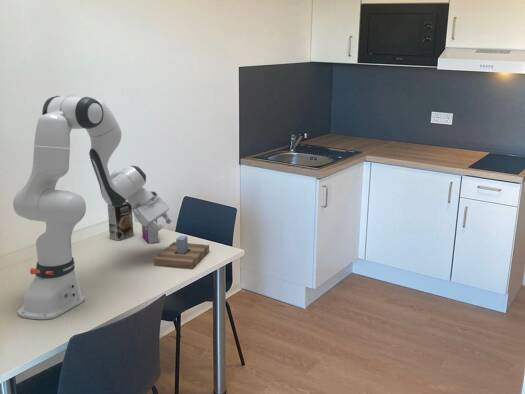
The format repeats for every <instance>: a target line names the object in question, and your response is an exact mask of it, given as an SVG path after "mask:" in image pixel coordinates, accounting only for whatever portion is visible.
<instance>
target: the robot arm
mask: <svg viewBox="0 0 525 394" xmlns="http://www.w3.org/2000/svg"><path fill="white" fill-rule="evenodd" d="M81 129H85V131H86V132H87V134H88V136H89V138H90V149H89V153H88V155H89V158H90V161H91V162H90V163H91V165H92V168H93V170H94V171H93V172H94V174H95V176H96V179H97V182H98V184H99V189H100V190H99V191H100V194H101V197H102V198H103V201H104V202H105V203H106V204H107V206H108V205H110V206H114V207H117V206H121V205H122V204H123V203H124V202H125V201H127V202H128V203H129V204H130V205H131V206H132V214H133V215H134V217H135V218H136V220H137V221H138V222H139V223H140V225H141V226H142V225H143V226H145V227H146V226H147V225H149V224H150V225H151V226H152V227H154V228H156V229H157V230H158V232H160V231H161V230H162V229H163V226H162V225H161V224H159V223H158V222H157V223H155V220H156V219H157V220H158V219H159V218H161V217H162V218H163V219H164V220H165V223H166V224H167V225H169V224H171V223H172V221H173V220H172V219H171V218H170V216H169V214H168V211H169V210H170V208H169V205H168V204H167V203H166V202H165V201H164V200H163V199H162V198H161V197H160V196H159V194H158V192H157V191H151V190H147V189H146V188H145V187H144V186H145V184H147V183H146V181H147V175H146V173H145V172H144V171H143V170H142V169H141V168H140V167H139V166H136V165H130V166H128V167H126V168H125V167H123V166H121V167H118V168H116V169H115V170H114V171H112V173H111V174H110V170H109V167H108V164H109V161H110V160H111V159H110V158H111V157H112V155H113V153H114V152H115V150H116V149H117V148H118V147H119V146H120V145H119V144H120V143H121V140H122V130H121V127H120V125H119V122H118V121H117V120H116V117H115V115H114V114H113V113H112V111H111V109H110V108H109V107H108V105H107V104H106V103H105V102H104V101H103V100H102V99H100V98H93V97H89V96H78V95H77V96H76V95H54V96H51V97H49V98H48V99H46V100H45V102H44V104H43V106H42V111H41V116H39V118H38V120H37V124H36V128H35V134H34V143H33V146H34V147H33V157H32V158H33V159H32V169H31V172H30V176H29V177H28V180H27V182H26V183H25V185H23V187H22V188H21V189H20V190H18V191H17V192H16V194H15V195H14V198H13V202H12V208H13V211H14V212H15V214H16V215H18V216H19V217H21V218H24V219H26V220H30V221H35V222H44V223H45V225H46V226H45V232H43V233H41V234H40V235H39V236H38V237H37V239H36V241H35V249H36V257H37V262H36V266H35V268H33V267H32V268H30V270H29V274H30V275H35V277H34V278H33V279H32V280H31V281H32V282H31V283H30V285H29V287H28V288H27V290H26V292H24V295H23V305H22V306H20V308H19V309H18V310H17V311H16V314H17V315H18V316H19V317H22V318H25V319H31V320H51V319H52V320H53V319H54V318H57V317H59V316H61V315H62V314H64V313H66V312H67V311H69V310H71V309H73V308H75V307H77V306H78V305H80V304H81V303H84V301H85V298H84V297H85V296H83V295H82V293H81V287H80V283H79V282H80V281H79V277H78V276H77V274H76V272H75V268H76V266H75V264H76V263H75V259H74V257H73V253H72V249H73V248H72V234H73V232H74V229H75V227H76V225H77V224H79V222H81V221H82V219H84V217H85V215H86V211H87V206H86V205H87V204H86V201H85V199H84V197H83V196H81V195H80V194H78V193H75V192H73V191H72V192H71V191H69V190H61V189H60V190H59V189H56V187H57V183H58V182H59V180H60V178H62V177H64V176H65V175H67V173H68V172H69V170H70V156H71V153H70V151H71V135H70V134H71V132H72V130H81Z"/></svg>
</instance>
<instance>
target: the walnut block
mask: <svg viewBox="0 0 525 394" xmlns="http://www.w3.org/2000/svg"><path fill="white" fill-rule="evenodd" d="M209 252H210V244H206V243H205V244H203V243H202V244H201V243H194V242H193V243H192V242H188V253H187V254H185V255H183V254H177V246H176V241H173V242H171V244H170V245H168V246H167V247H166V248H165V249H163V251H161V252H160V253H159V254H158V255H157V256H155V257H154V258H153V262H154V263H153V264H154V266H155V267H156V266H157V267H167V268H176V269H185V270H187V269H189V270H193V269H194V268H195V267H196V266H197V265H198V264H199V263H200V262H201V261H202V260H203V259H204V258H205V256H207V255H208V254H209Z"/></svg>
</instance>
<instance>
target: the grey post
mask: <svg viewBox="0 0 525 394" xmlns="http://www.w3.org/2000/svg"><path fill="white" fill-rule="evenodd" d="M175 242H176V246H177V254H183V255H185V254H187V253H188V243H189V242H188V236H187V235H179V236H178V237H177V238H176V239H175Z"/></svg>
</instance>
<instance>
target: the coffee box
mask: <svg viewBox="0 0 525 394" xmlns="http://www.w3.org/2000/svg"><path fill="white" fill-rule="evenodd" d="M107 214H108V215H107V216H108V218H107V219H108V229H109V239H111V240H114V241H117V242H119V241H122V240H126V239H129V238H132V237H134V221H133V210H132V206H131V205H130V204H129V203H128V201H127V200H126V201H125V202H124V203H123V204H122V205H121V206H117V207H114V206H110V205H108V204H107Z"/></svg>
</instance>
